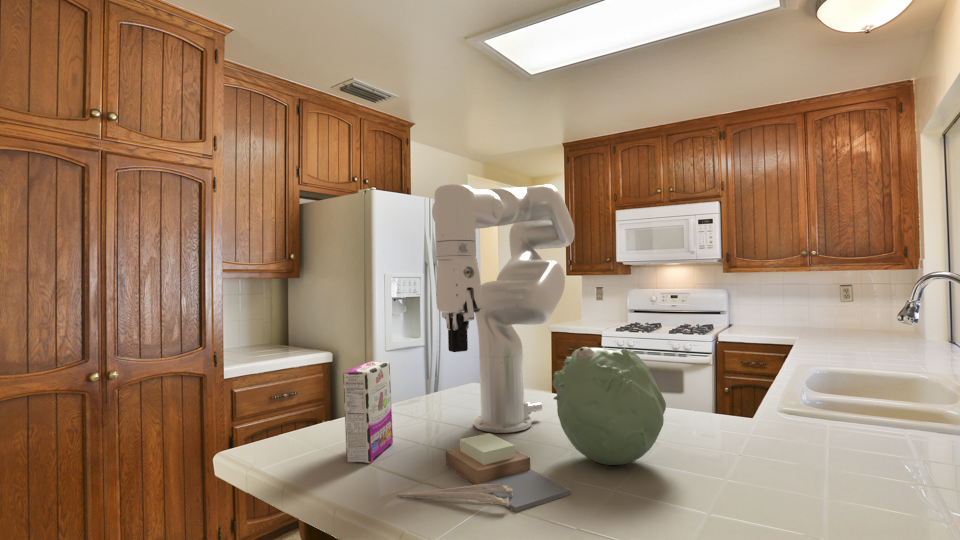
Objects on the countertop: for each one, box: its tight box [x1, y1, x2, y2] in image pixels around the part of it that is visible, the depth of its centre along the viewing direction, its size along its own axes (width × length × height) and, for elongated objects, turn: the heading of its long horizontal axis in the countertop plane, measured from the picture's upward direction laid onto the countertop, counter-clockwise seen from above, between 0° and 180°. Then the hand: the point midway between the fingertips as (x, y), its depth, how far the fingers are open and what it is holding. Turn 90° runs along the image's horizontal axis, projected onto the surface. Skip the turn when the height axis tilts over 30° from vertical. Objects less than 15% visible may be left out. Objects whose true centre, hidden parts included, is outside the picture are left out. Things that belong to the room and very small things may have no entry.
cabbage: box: [552, 346, 667, 466], centre depth 86 cm, size 16×19×20 cm
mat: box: [480, 469, 572, 513], centre depth 75 cm, size 10×10×1 cm
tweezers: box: [396, 484, 513, 507], centre depth 73 cm, size 17×5×2 cm, turn 76°
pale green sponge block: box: [459, 432, 516, 465], centre depth 85 cm, size 6×8×2 cm
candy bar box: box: [342, 360, 394, 464], centre depth 94 cm, size 11×5×16 cm, turn 168°
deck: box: [445, 447, 531, 485], centre depth 85 cm, size 10×11×2 cm
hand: (458, 350), depth 92 cm, fingers closed
